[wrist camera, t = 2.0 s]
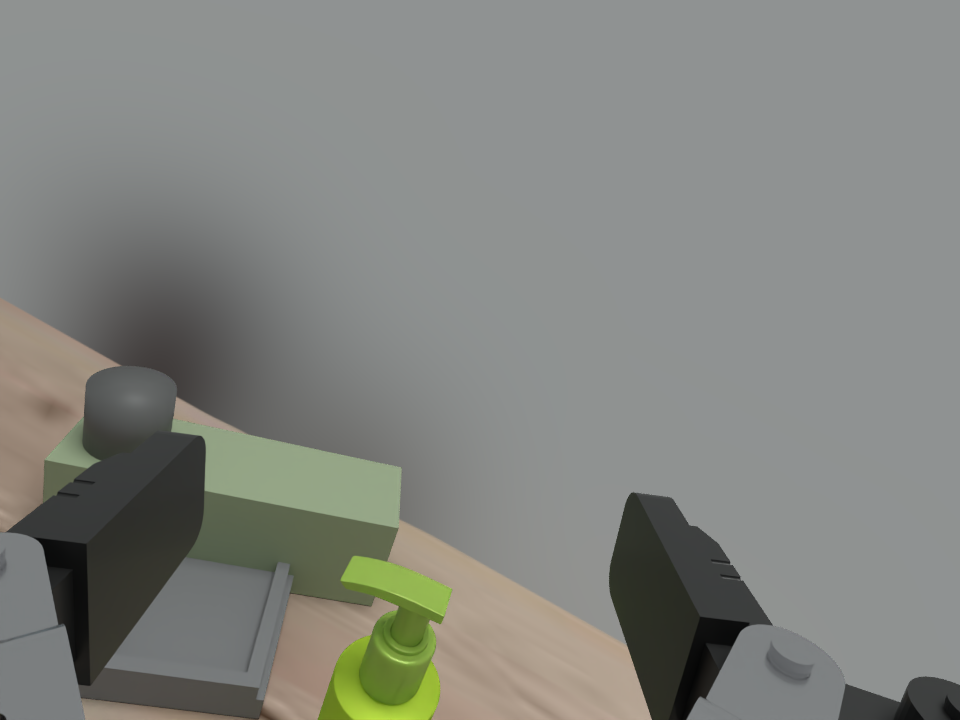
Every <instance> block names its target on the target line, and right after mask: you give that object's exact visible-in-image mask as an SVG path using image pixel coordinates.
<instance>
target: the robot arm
mask: <svg viewBox="0 0 960 720" xmlns="http://www.w3.org/2000/svg"><path fill="white" fill-rule="evenodd" d="M205 462H206V444H205V440H204V438H203V437H202V436H199V435H192V434H184V433H177V432H169V431H161V430H159V431H157V432H155V433H154V434H153V435H152V436H150V437H149V438H148V439H147V440H146V441H144V442H143V443H142V444H141V445H140V446H138V447H137V448H136V449H135V450H133V451H132V452H131V453H123V452H122V453H119V454H117V455H114V456H112V457H109V458H107V459H104V460H102V461H99V462H97V463H94V464H93V465H91V466H90V467H89V468H88V469H86V470H85V471H84V472H82V473H81V474H80V475H79V476H77V477H76V478H75V479H74V481H73V483H72V482H70V483H68V484H67V485H66V486H64V487H63V488H62V489H61V490H59V491H58V492H57V495H56V496H55V495H53V496H52V497H50V498H49V499H48V500H47V501H45V502H44V503H43V504H41V505H40V506H39V507H38V508H36V509H35V510H34V511H32V512H31V513H30V514H29V515H27V516H26V517H25V518H23V519H22V520H21V521H20V522H18V523H17V524H16V525H14V526H13V527H12V528H11V529H9V530H8V531H7V532H5V533H1V532H0V720H85V716H84V711H83V706H82V702H81V697H80V692H79V687H78V685H84V686H91V685H92V683H93V682H94V681H95V679H96V678H97V677H98V675H99V674H100V673H101V671H102V670H103V668H104V667H105V666H106V664H107V663H108V662H109V660H110V659H111V658H112V656H113V655H114V654H115V652H116V651H117V649H118V648H119V647H120V645H121V644H122V643H123V641H124V640H125V639H126V637H127V636H128V634H129V633H130V632H131V630H132V629H133V628H134V626H135V625H136V624H137V622H138V621H139V620H140V618H141V617H142V615H143V614H144V613H145V611H146V610H147V609H148V607H149V606H150V605H151V603H152V602H153V600H154V599H155V598H156V596H157V595H158V594H159V592H160V591H161V590H162V588H163V587H164V586H165V584H166V583H167V581H168V580H169V579H170V577H171V576H172V575H173V573H174V572H175V571H176V569H177V568H178V566H179V565H180V564H181V562H182V561H183V560H184V558H185V557H186V556H187V554H188V553H189V552H190V550H191V549H192V547H193V546H194V544H195V542H196V540H197V538H198V535H199V533H200V529H201V526H202V521H203V515H204V492H205ZM609 587H610V594H611V598H612V601H613V604H614V607H615V610H616V613H617V616H618V619H619V622H620V625H621V628H622V631H623V634H624V637H625V640H626V643H627V646H628V649H629V652H630V655H631V658H632V661H633V664H634V667H635V670H636V673H637V676H638V679H639V682H640V685H641V688H642V691H643V694H644V697H645V700H646V703H647V706H648V709H649V712H650V715H651V718H652V720H960V685H958V684H956V683H953V682H950V681H947V680H944V679H939V678H934V677H918V678H915V679H913V680H912V681H910V682H909V685H908V686H907V688H906V691H905V693H904V695H903V698H902V700H901V702H897V701H894V700H891V699H888V698H885V697H882V696H880V695H876V694H873V693H871V692H868V691H865V690H862V689H859V688H856V687H853V686H850V685H847V684H845V679H844V676H843V673H842V671H841V669H840V668H839V667H838V665H837V664H836V662H835V661H834V660H833V659H832V658H831V657H830V656H829V655H828V654H827V653H826V652H825V651H824V650H822V649H821V648H820V647H818V646H817V645H816V644H814V643H812V642H811V641H809V640H808V639H806V638H804V637H802V636H800V635H798V634H796V633H794V632H791V631H789V630H786V629H783V628H780V627H776V626H773V625H772V623H771V622H770V620H769V619H768V617H767V616H766V614H765V613H764V611H763V610H762V608H761V607H760V605H759V604H758V602H757V601H756V600H755V598H754V596H753V595H752V593H751V592H750V591H749V589H748V587H747V586H746V584H745V583H744V581H741V580H740V576H739V574H738V572H737V571H736V570H735V568H734V566H733V565H730V561H729V559H728V558H727V556H726V555H725V553H724V552H723V550H722V549H721V547H720V546H719V544H718V543H717V542H715V541H714V540H713V539H712V538H711V537H709V536H708V535H707V534H706V533H704V532H703V531H702V530H700V529H699V528H698V527H696V526H689V524H688V522H687V521H686V519H685V518H684V516H683V514H682V513H681V511H680V510H679V508H678V507H677V505H676V503H675V502H674V500H673V499H672V498H670V497H663V496H656V495H648V494H641V493H631V494H630V495H629V497H628V499H627V501H626V504H625V508H624V512H623V516H622V520H621V524H620V528H619V532H618V536H617V540H616V544H615V548H614V552H613V556H612V560H611V565H610V573H609Z"/></svg>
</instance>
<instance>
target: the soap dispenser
mask: <svg viewBox="0 0 960 720" xmlns="http://www.w3.org/2000/svg"><path fill="white" fill-rule="evenodd" d="M340 581H341V583H342V585H343V586H344V587H345V588H346V589H348V590H353V591H357V592H361V593H365V594H369V595H372V596H375V597H378V598H381V599H383V600H386V601H388V602H391V603H393V604H395V605H398V606H399V608H398V610H396V611H391V612H388V613H386V614H385V615H383V616H382V617H381V618H380V619H379V620H378V621H377V623H376V624H375V626H374V629H373V631H372V634H371V635H370V636H366V637H363V638H361V639H359V640H357V641H355V642H353V643H352V644H351V645H349V646H348V647H347V648H346V649H345V650H344V651H343V653H342V654H341V656H340V657H339V659H338V661H337V663H336V666H335V669H334V672H333V675H332V678H331V681H330V684H329V687H328V690H327V693H326V696H325V699H324V702H323V705H322V708H321V711H320V714H319V717H318V720H431V719H432V716H433V714H434V712H435V710H436V707H437V705H438V702H439V697H440V681H439V677H438V673H437V671H436V668H435V666H434V664H433V663H432V661H431V659H432V657H433V654H434V651H435V648H436V637H435V633H434V631H433V629H432V627H431V626H430V624H429V621H430V620H432V621H434V622H436V623H439V624H441V623H442V621H443V618H444V616H445V612H446V609H447V605H448V602H449V599H450V595H451V592H452V589H451V588H449V587H447V586H445V585H443V584H441V583H439V582H436V581H434V580H432V579H430V578H428V577H426V576H424V575H421V574H419V573H417V572H414V571H412V570H410V569H407V568H404V567H402V566H399V565H396V564H393V563H389V562H386V561H382V560H378V559H373V558H367V557H361V556H353V557H352V559H351V560H350V562H349V564H348V566H347V568H346V570H345V572H344V574H343V575H342V577H341V579H340Z"/></svg>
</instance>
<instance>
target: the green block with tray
mask: <svg viewBox="0 0 960 720" xmlns="http://www.w3.org/2000/svg"><path fill="white" fill-rule="evenodd" d="M176 393H177V387H176V384H175V382H174V381H173V380H172V379H171V378H169V377H168V376H167V375H165V374H163V373H161V372H158V371H156V370H153V369H149V368H144V367H138V366H119V367H112V368H108V369H104V370H101V371H99V372H97V373H95V374H93V375H92V376H91V377H90V378H89V379H88V381H87V383H86V392H85V407H84V417H83V418H82V419H81V420H80V421H79V422H78V423H77V424H76V425H75V427H74V428H73V429H72V430H71V431H70V432H69V433H68V434H67V435H66V437H65V438H64V439H63V440H62V441H61V442H60V443H59V444H58V445H57V447H56V448H55V449H54V450H53V451H52V452H51V453H50V454H49V455H48V457H47V458H46V459H45V461H44V490H43V503H44V502H45V501H47V500H48V499H49V498H50V497H52V496H53V495H55V496H56V495H57V492H58V491H59V490H61V489H62V488H63V487H64V486H66V485H67V484H68V483H70V482H72V483H73V481H74V479H75V478H76V477H77V476H79V475H80V474H81V473H82V472H84V471H85V470H86V469H88V468H89V467H90V466H91V465H93V464H94V463H97V462H99V461H102V460H104V459H107V458H109V457H112V456H114V455H117V454H119V453H122V452H123V453H131V452H132V451H133V450H135V449H136V448H137V447H138V446H140V445H141V444H142V443H143V442H144V441H146V440H147V439H148V438H149V437H150V436H152V435H153V434H154V433H155V432H157V431H159V430H161V431H169V432H177V433H184V434H192V435H199V436H202V437H203V438H204V440H205V444H206V462H205V492H204V515H203V521H202V526H201V529H200V533H199V535H198V538H197V540H196V542H195V544H194V546H193V547H192V549H191V550H190V552H189V553H188V554H187V556H186V557H185V558H184V560H183V561H182V562H181V564H180V565H179V566H178V568H177V569H176V571H175V572H174V573H173V575H172V576H171V577H170V579H169V580H168V581H167V583H166V584H165V586H164V587H163V588H162V590H161V591H160V592H159V594H158V595H157V596H156V598H155V599H154V600H153V602H152V603H151V605H150V606H149V607H148V609H147V610H146V611H145V613H144V614H143V615H142V617H141V618H140V620H139V621H138V622H137V624H136V625H135V626H134V628H133V629H132V630H131V632H130V633H129V634H128V636H127V637H126V639H125V640H124V641H123V643H122V644H121V645H120V647H119V648H118V649H117V651H116V652H115V654H114V655H113V656H112V658H111V659H110V660H109V662H108V663H107V664H106V666H105V667H104V668H103V670H102V671H101V673H100V674H99V675H98V677H97V678H96V679H95V681H94V682H93V683H92V685H91V686H84V685H78V687H79V692H80V697H82V698H90V699H98V700H106V701H115V702H123V703H131V704H139V705H147V706H156V707H164V708H172V709H180V710H189V711H197V712H205V713H213V714H221V715H230V716H238V717H246V718H254V719H259V716H260V712H261V708H262V705H263V701H264V697H265V693H266V689H267V685H268V680H269V676H270V672H271V668H272V664H273V660H274V656H275V652H276V647H277V643H278V639H279V635H280V631H281V627H282V623H283V618H284V614H285V610H286V606H287V602H288V598H289V594H290V593H294V594H301V595H307V596H313V597H319V598H325V599H331V600H337V601H343V602H349V603H355V604H361V605H367V606H372V603H373V600H374V597H375V596H372V595H369V594H365V593H361V592H357V591H353V590H348V589H346V588H345V587H344V586H343V585H342V583H341V581H340V579H341V577H342V575H343V574H344V572H345V570H346V568H347V566H348V564H349V562H350V560H351V559H352V557H353V556H361V557H367V558H373V559H378V560H382V561H386V562H387V560H388V557H389V554H390V551H391V548H392V546H393V543H394V540H395V537H396V534H397V531H398V528H399V508H400V489H401V469H402V468H400V467H396V466H391V465H387V464H382V463H377V462H372V461H368V460H363V459H358V458H353V457H349V456H345V455H340V454H335V453H331V452H325V451H321V450H317V449H312V448H307V447H303V446H298V445H293V444H289V443H283V442H279V441H275V440H270V439H265V438H261V437H256V436H251V435H247V434H242V433H237V432H233V431H228V430H223V429H219V428H214V427H209V426H205V425H200V424H195V423H191V422H186V421H181V420H177V419H173V416H174V408H175V401H176Z"/></svg>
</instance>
